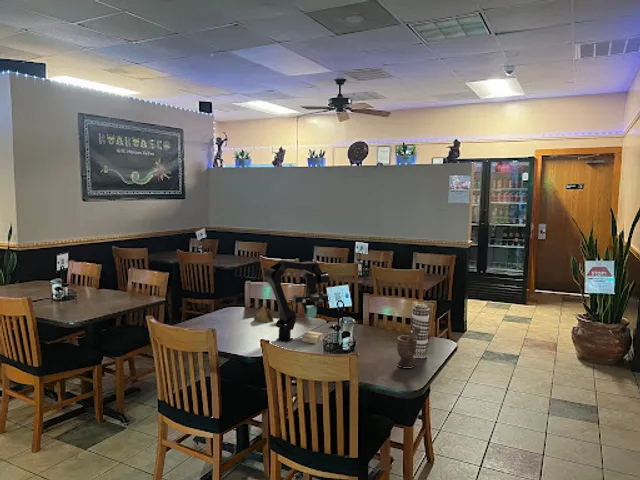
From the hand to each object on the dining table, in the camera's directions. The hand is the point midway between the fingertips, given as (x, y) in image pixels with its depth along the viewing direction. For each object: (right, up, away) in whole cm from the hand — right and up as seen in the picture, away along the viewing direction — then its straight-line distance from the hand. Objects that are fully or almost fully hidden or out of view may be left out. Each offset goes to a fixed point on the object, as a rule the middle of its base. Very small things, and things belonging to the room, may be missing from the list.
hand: (310, 314), depth 257 cm
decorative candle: (+52, -16, -27) cm, 61 cm away
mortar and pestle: (+45, -18, -43) cm, 64 cm away
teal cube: (0, -1, 0) cm, 1 cm away
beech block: (+1, -13, -8) cm, 15 cm away
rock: (-28, -8, +25) cm, 39 cm away
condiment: (-14, -9, +25) cm, 30 cm away
